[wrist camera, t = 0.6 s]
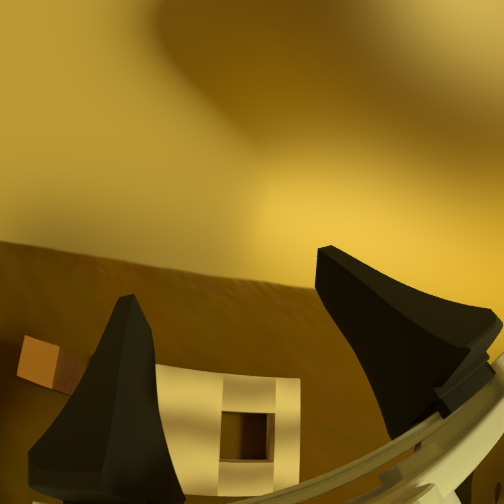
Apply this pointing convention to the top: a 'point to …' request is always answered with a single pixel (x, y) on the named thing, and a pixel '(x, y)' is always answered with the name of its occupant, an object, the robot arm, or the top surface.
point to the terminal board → (209, 425)
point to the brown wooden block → (49, 366)
